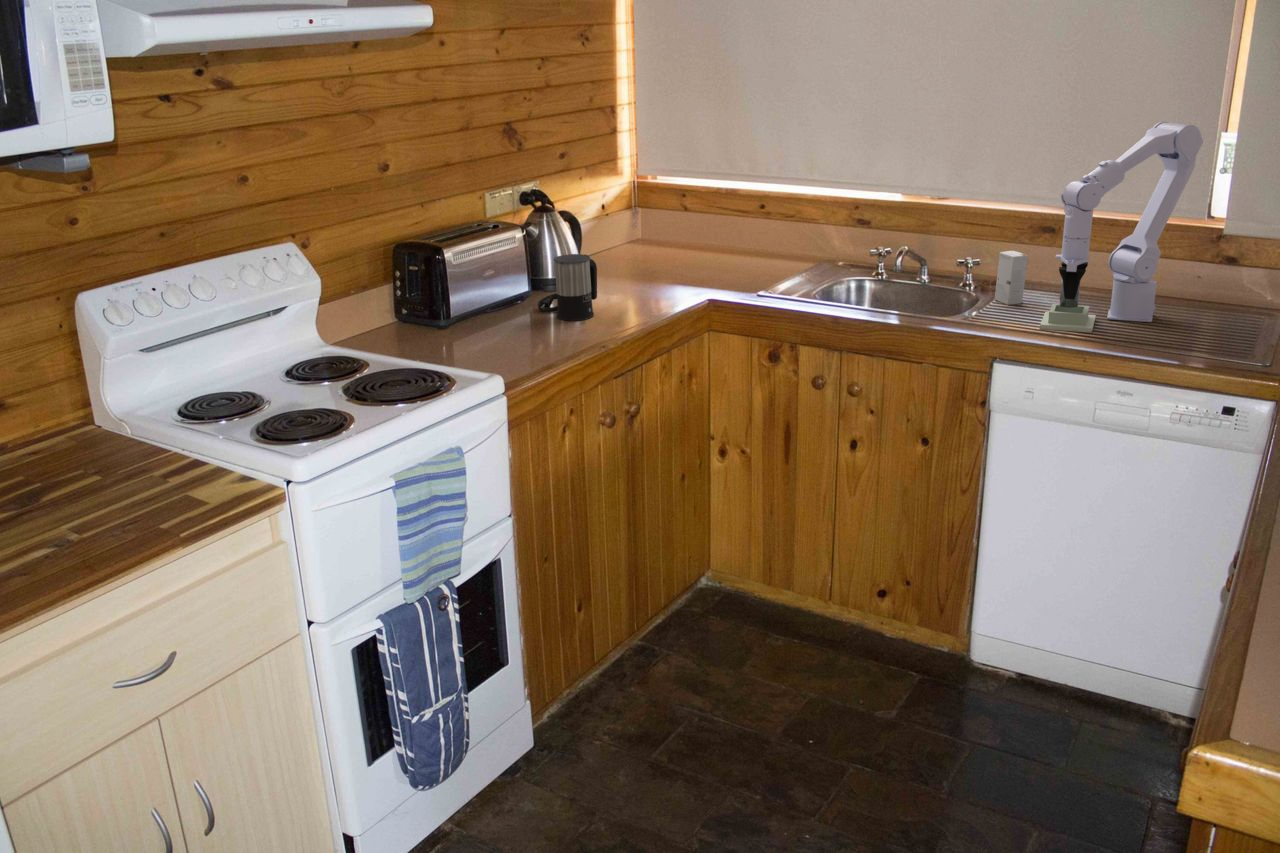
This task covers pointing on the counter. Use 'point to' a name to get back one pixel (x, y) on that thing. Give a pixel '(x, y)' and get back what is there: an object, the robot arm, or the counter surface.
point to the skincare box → (1011, 277)
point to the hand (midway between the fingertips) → (1070, 296)
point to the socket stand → (1068, 319)
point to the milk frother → (573, 288)
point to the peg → (1068, 302)
